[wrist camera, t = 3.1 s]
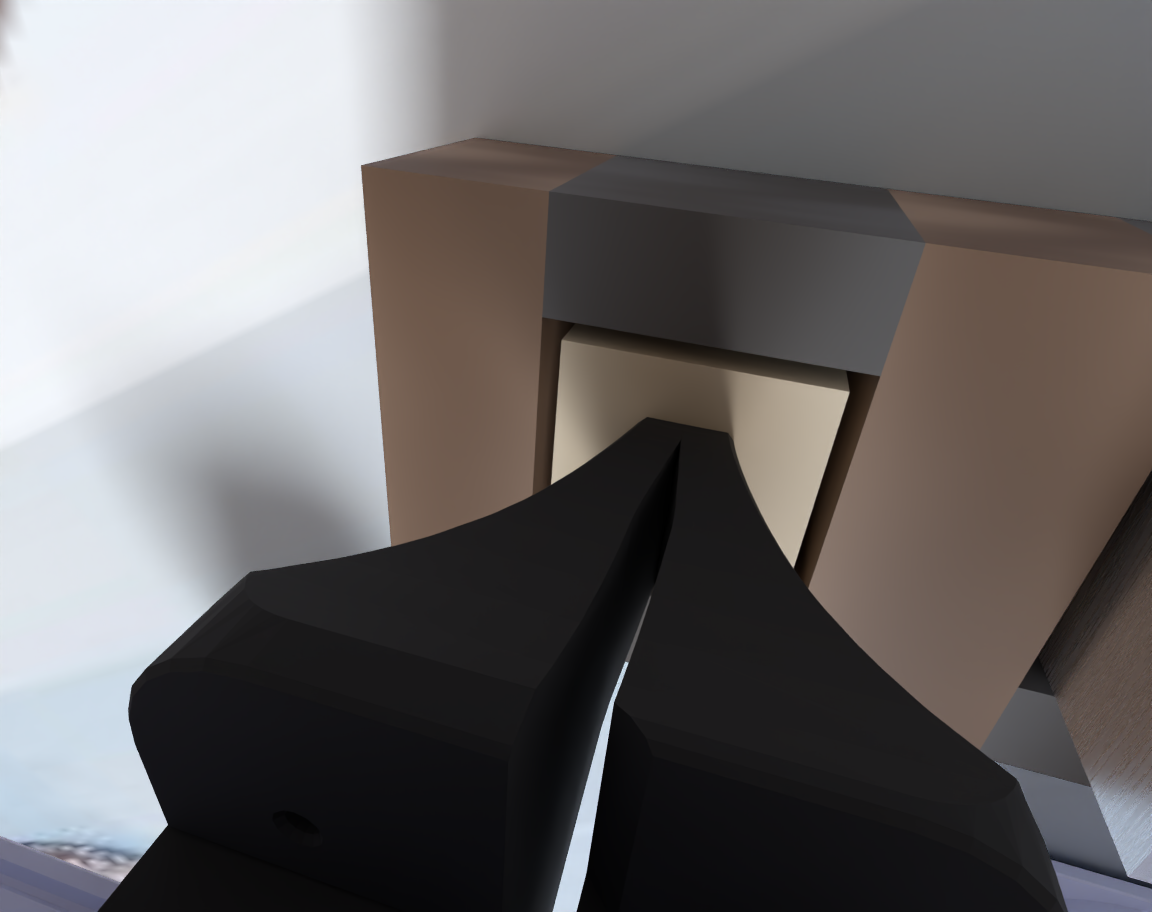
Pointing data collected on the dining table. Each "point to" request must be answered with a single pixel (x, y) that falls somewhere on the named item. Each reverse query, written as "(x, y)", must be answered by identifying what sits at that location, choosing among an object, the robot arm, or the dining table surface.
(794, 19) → the dining table surface
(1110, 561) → the steel peg
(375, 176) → the collar block
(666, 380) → the birch peg
